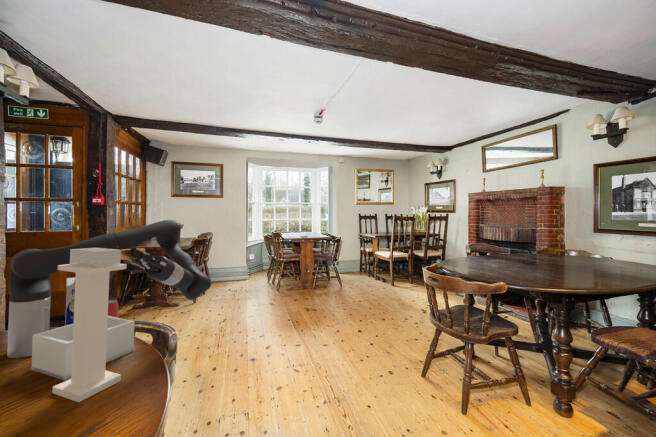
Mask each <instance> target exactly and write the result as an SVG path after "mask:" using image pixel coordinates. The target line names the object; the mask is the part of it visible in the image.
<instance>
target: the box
mask: <svg viewBox="0 0 656 437" xmlns="http://www.w3.org/2000/svg"><path fill="white" fill-rule="evenodd" d="M135 323H136V322H135V320H132V319H126V318H121V317H118V318H117V317H112V316H108V321H107V345H106V364H107V363H109V362H111V361H114V360H116V359H119V358H121V357H122V356H125V355H128V354H130V353H132V352H134V347H135V346H134V345H135V344H134V343H135V342H134V341H135ZM73 324H74V323H73ZM73 324H70V325H66V326H65V325H64V326H60V327H56V328H52V329H49V330H48V331H45V332H41V333H38V334H34V335H33V343H32V355H31V367H30V369H31V371H34V372H37V373H40V374H43V375H46V376H49V377H52V378H55V379H58V380H61V381H63V382H65V381H67V380H69V379H71V370H72V347H73Z"/></svg>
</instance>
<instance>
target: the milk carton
mask: <svg viewBox="0 0 656 437" xmlns="http://www.w3.org/2000/svg"><path fill="white" fill-rule="evenodd" d="M65 282H66V284H65V285H66V286H65V287H66V294H65V315H64V316H65V320H64V322H65V323H64V326H66V325H70V324H73V323H74V300H75V277H66V281H65Z"/></svg>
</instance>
